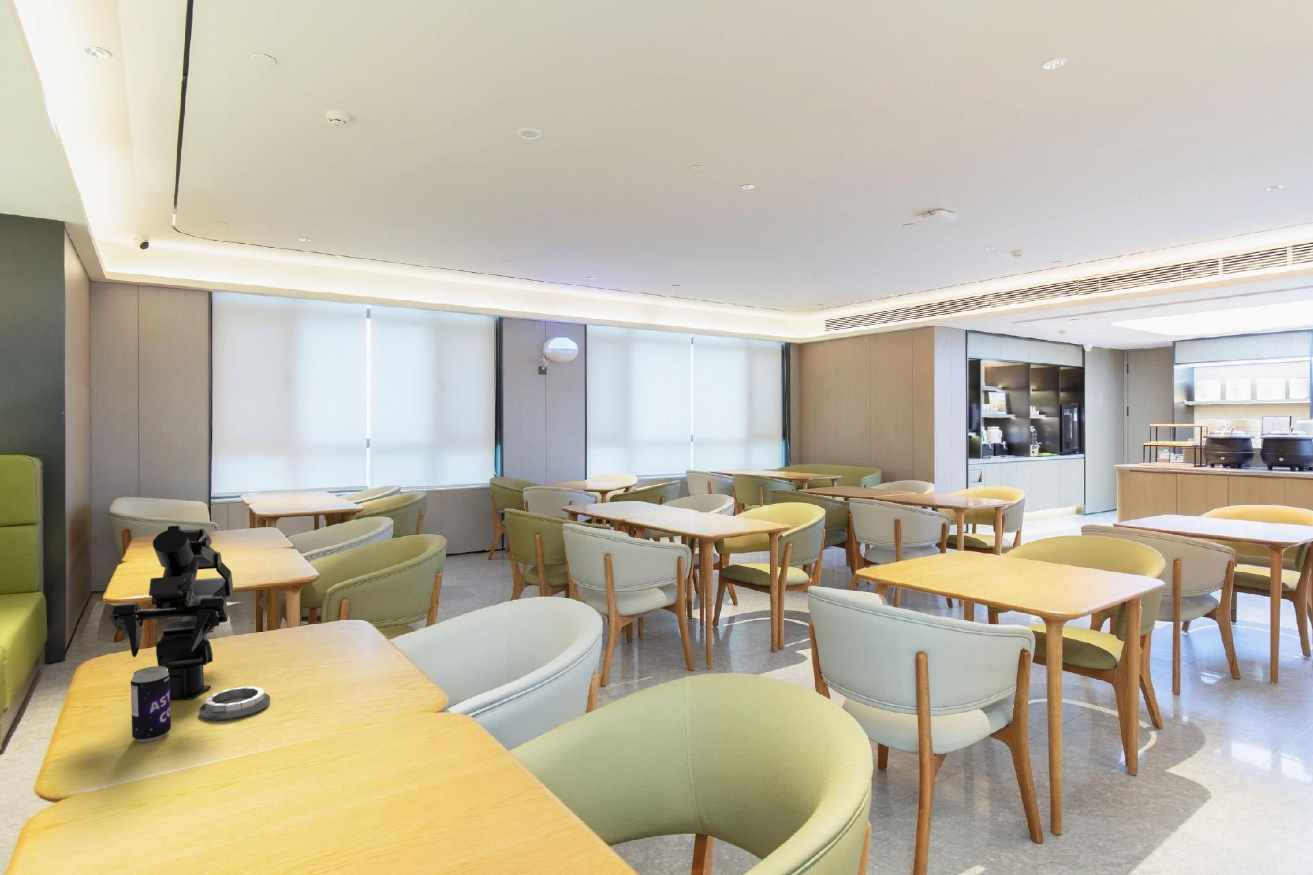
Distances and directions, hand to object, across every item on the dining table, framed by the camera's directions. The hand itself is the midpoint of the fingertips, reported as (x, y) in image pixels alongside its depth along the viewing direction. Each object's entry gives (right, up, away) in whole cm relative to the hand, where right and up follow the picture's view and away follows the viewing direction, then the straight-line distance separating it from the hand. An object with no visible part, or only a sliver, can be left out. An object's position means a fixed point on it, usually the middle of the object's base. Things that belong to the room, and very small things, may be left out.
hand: (162, 653), depth 136 cm
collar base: (+10, -13, +6) cm, 17 cm away
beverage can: (+2, -13, -6) cm, 15 cm away
